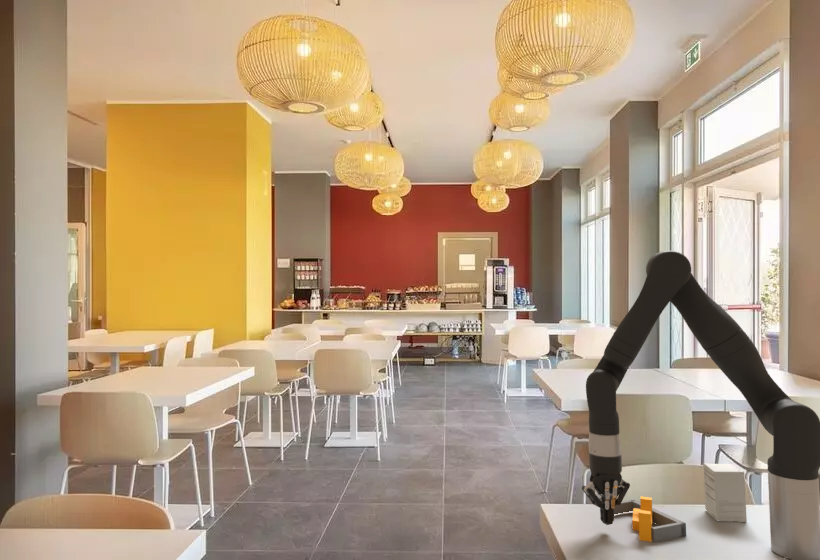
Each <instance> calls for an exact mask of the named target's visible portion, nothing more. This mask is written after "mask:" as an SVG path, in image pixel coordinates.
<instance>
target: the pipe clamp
mask: <svg viewBox="0 0 820 560" xmlns="http://www.w3.org/2000/svg"><path fill="white" fill-rule="evenodd" d="M639 499H640V500H639V502H641V509H636V508H634V510H633V513H632V531H637V530H638V536H639V537H638V540H639V541H643V542H648V543H652V542H653V541H652V539H651V527H653V525H652V524H654V523H653V519H652V508H653V497H649V496H641V495H640V498H639Z"/></svg>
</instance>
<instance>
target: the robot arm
mask: <svg viewBox="0 0 820 560" xmlns="http://www.w3.org/2000/svg"><path fill="white" fill-rule="evenodd" d="M645 268H646V269H645V273H646V278H645V280H644V283H643V286H642V288H641V290H640V291H639V295H638V297H637V298H636V300H635V302H634V303H633V305H632V306H631V307H630V309H629V310H628V312H627V313H626V315H625V316H624V317H623V319H622V320H621V321H620V323H619V324H618V326H617V327H616V329H615V331H614V333H613V334H612V335H611V338H610V339H609V341H608V343H606V344H607V345H606V347H605V348H604V352H603V356H602V357H601V359H600V361H599V362H598V363H597V365H596V367H594V369H593V371H592V372H591V373H589V375H588V376H587V378H586V381H585V382H586V383H585V392H586V393H585V395H586V400H587V401H586V402H587V407H588V461H589V462H588V464H589V465H588V466H589V470H590V477H589V483H588V484H587V485H582V487H581V490H582V491H583V493H584V495H586V496H587V498H588V499H589V501H590V502H591V503H592V505H594V506H595V507H596V508H597V507H598V509H599V511H600V512H599V513H600V515H599V516H600V520H601V522H602V523H603V524H604V525H605V526H609V525H613V523H614V522H615V521H614V520H615V516H614V508H615V506H616V505H620V504H621V502H622V501H624V498H625V496H626V495H627V492H628V490H629V488H630V487H631V484H630V483H629V482H627V481H625V480H624V479H623V475H622V474H621V472H623V466H622V464H623V462H622V461H623V460H622V458H623V456H622V441H621V435H620V416H619V413H618V410H617V391H618V389H619V387H620V385H621V383H622V381H623V380H624V378H625V376H626V375H627V374H626V373H627V372H628V370H629V368H630V367H631V365H632V364H633V363H634V361H635V359H636V358H637V357H638V354H639V352H640V351H641V350H642V348H643V346H644V345H645V342H646V341H647V339H648V337H649V335H650V333H651V331H652V329H653V328H654V327H655V325H656V322H657V320H658V319H659V318H660V316H661V315H662V313H663V311H664V310H665V308H666V307H667V306H668V305H669V303H671V304H672V305H673V306H674V307H675V309H676V310H677V311H678V313H679V314H680V315H681V317H682V318H683V320H684V322H685V323H686V325H687V327H688V328H689V330H690V332H691V333H692V335H693V336H694V337H695V339H696V341H698V343H699V344H700V346H701V347H702V349H703V350H704V351H705V353H706V354H707V355H708V356H709V358H710V359H711V361H713V362H714V363H715V365H716V366H717V368H719V369H720V371H721V372H722V373H723V374H724V375H725V377H727V379H728V380H729V381H730V382H731V383H732V384H733V385H734V386H735V387H736V388H737V389H738V391H739V392H740V393H741V395H743V397H744V398H745V400H746V401H747V403H748V405H749V406H750V407H751V409H752V411H753V413H754V414H755V415H756V417H757V419H758V421H759V423H760V424H761V426H762V427H763V429H765V431H766V432H768V433H769V434H770V435H771V436H773V437H772V438H773V441H772V442H773V443H772V444H773V450H772V451H773V452H772V455H771V456H769V457H768V458H767V483H768V484H767V485H768V505H769V506H768V507H769V529H770V530H769V531H770V549H771V550H772V551H773V553H775V554H776V555H779V556H780V557H782V558H786V559H788V560H820V485H819V484H820V482H819V481H820V479H819V470H820V417H819V416H818V414H817V413H816V412H815V410H813V409H812V408H810V407H809V406H808V405H805V404H803V403H801V402H800V403H799V402H797V401H795V400H793V399H792V398H791V397H790V396H789V395H788V394H787V393H785V391H784V390H783V389H782V388H781V387H780V386H779V385H778V384H777V382H775V381H774V379H773V377H771V375H770V374H769V372H768V370H767V369H766V366H765V364H764V362H763V359H762V357H761V353H759V349H757V347H756V345H755V343H754V342H753V340H752V339H751V338H750V337H749V335H748V334H747V333H746V332H745V330H743V328H742V327H741V326H740V325H739V323H738V322H737V321H736V320H735V319H734V318H733V317H732V316H731V315H730V314H729V313H728V312H727V311H726V310H725V309H724V308H723V307H722V306H721V305H719V304H718V303H717V302H716V301H714V300H713V299H712V298H711V297H710V296H709V295H708V293H706V292H705V290H704V288H703V287H701V285H700V284H699V282H698V280H697V279H696V278H695V276H694V275H693V273H692V265H691V262H690V261H689V259H688V257H687V256H685V254H683V253H681V252H679V251H677V250H676V251H675V250H664V251H663V250H662V251H659V252H657V253H655V254H654V255H652V256H651V257H650V258H649V259H648V261H647V264H646V267H645Z"/></svg>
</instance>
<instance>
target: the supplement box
mask: <svg viewBox="0 0 820 560" xmlns="http://www.w3.org/2000/svg"><path fill="white" fill-rule="evenodd" d="M745 479H746V478H745V472H744V471H743V470H742V469H740V468H738V467H737V466H735V465H734V464H732V463H703V480H704V482H703V483H704V486H703V487H704V507H705V509H706V510H707V511H708V512H709V513H710V514H711V515H712V516H713V517H714V518H715V519H716V520H720V521H719V522H733V521H738V522H739V523H741V522H742V523H747V522H748V521H747V519H748V518H747V501H746V483H745V482H746V481H745ZM706 510H705V511H706ZM707 511H706V512H707ZM708 512H707V513H708ZM709 513H708V514H709ZM710 514H709V515H710ZM711 515H710V516H711ZM712 516H711V517H712ZM713 517H712V518H713ZM714 518H713V519H714ZM715 519H714V520H715ZM716 520H715V521H716ZM738 522H737V523H738Z"/></svg>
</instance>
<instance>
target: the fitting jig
mask: <svg viewBox="0 0 820 560" xmlns="http://www.w3.org/2000/svg"><path fill="white" fill-rule="evenodd" d="M634 508H636V509H641V502H640V500H639V501H638V500H636V499H629V500H622V502H621V504H620V505H616V506H615V508H614V514H618V513H623V512H629V511H633V510H634ZM652 519H653V522H654V523H656V524H658V525H659V526H658V525H656V524H655V525H656V526H652V527H651V539H652V541H651V542H653V543H657V542H662V541H667V540H672V539H673V540H674V539H678V538H683V537H686V536H687V523H686V522H684V521H682V520H680V519H678V518H675V517H674V516H671V515H669V514H667V513H666V512H665V513H664V512H663V511H660V510H658V509H656V508H654V507H652ZM654 523H653V524H654Z"/></svg>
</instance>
